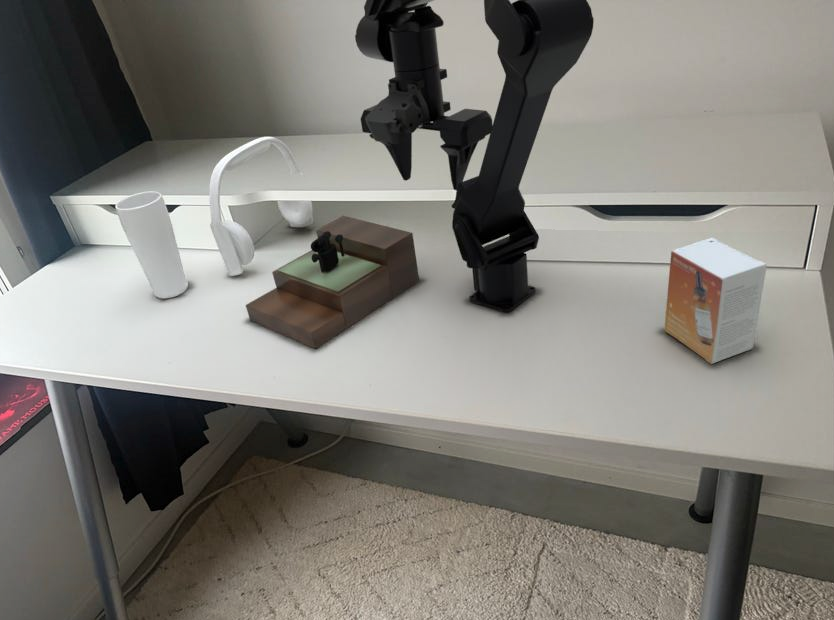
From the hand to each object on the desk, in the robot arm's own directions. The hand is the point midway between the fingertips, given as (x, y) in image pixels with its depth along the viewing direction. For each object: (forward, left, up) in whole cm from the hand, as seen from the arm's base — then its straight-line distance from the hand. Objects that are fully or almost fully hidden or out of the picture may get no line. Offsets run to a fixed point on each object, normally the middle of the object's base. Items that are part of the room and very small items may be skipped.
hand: (431, 184), depth 99 cm
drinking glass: (+32, +27, -12) cm, 44 cm away
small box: (-40, +1, -12) cm, 42 cm away
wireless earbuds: (+6, +16, -7) cm, 19 cm away
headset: (+28, +10, -12) cm, 32 cm away
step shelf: (+6, +16, -12) cm, 21 cm away
